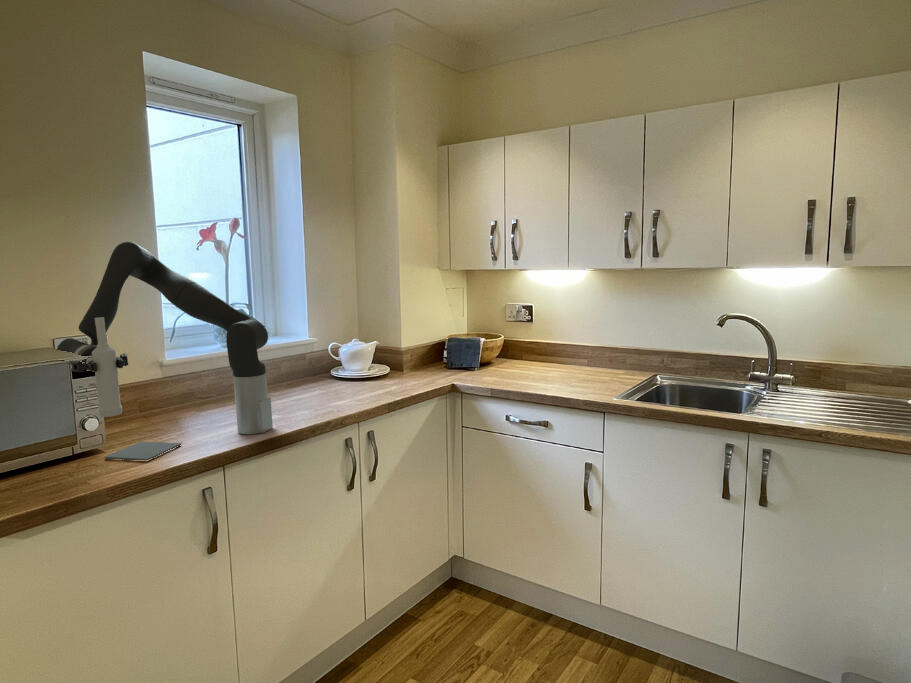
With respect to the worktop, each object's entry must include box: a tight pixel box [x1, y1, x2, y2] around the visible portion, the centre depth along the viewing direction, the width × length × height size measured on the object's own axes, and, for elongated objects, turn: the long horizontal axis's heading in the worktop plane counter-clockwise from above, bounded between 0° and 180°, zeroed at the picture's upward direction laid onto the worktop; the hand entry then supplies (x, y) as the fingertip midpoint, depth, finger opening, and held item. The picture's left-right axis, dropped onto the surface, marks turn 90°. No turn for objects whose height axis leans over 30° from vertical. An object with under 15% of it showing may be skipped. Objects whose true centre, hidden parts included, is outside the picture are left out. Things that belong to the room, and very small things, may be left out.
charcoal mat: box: [104, 441, 182, 460], centre depth 156 cm, size 13×13×1 cm
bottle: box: [92, 317, 123, 418], centre depth 147 cm, size 5×5×25 cm
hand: (108, 365), depth 145 cm, fingers closed on bottle, 5 cm apart
